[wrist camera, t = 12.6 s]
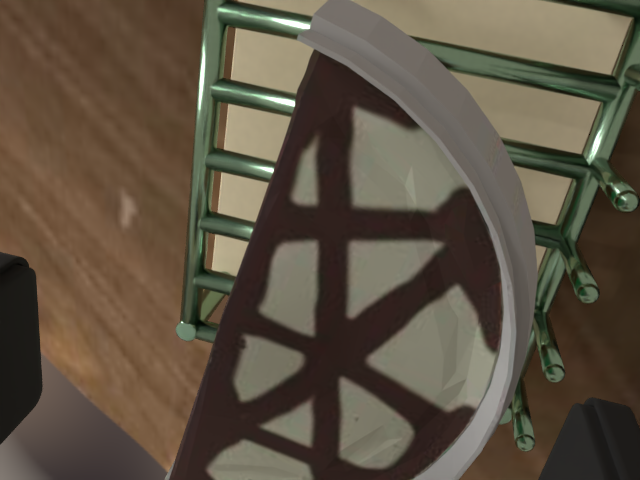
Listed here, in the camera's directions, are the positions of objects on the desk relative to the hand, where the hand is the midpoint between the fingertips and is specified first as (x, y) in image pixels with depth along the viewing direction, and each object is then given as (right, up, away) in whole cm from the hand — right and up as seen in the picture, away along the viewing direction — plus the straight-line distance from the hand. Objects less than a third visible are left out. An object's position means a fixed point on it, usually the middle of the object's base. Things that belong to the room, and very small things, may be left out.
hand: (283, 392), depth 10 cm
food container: (+3, +4, +10) cm, 11 cm away
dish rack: (+4, +6, +15) cm, 16 cm away
